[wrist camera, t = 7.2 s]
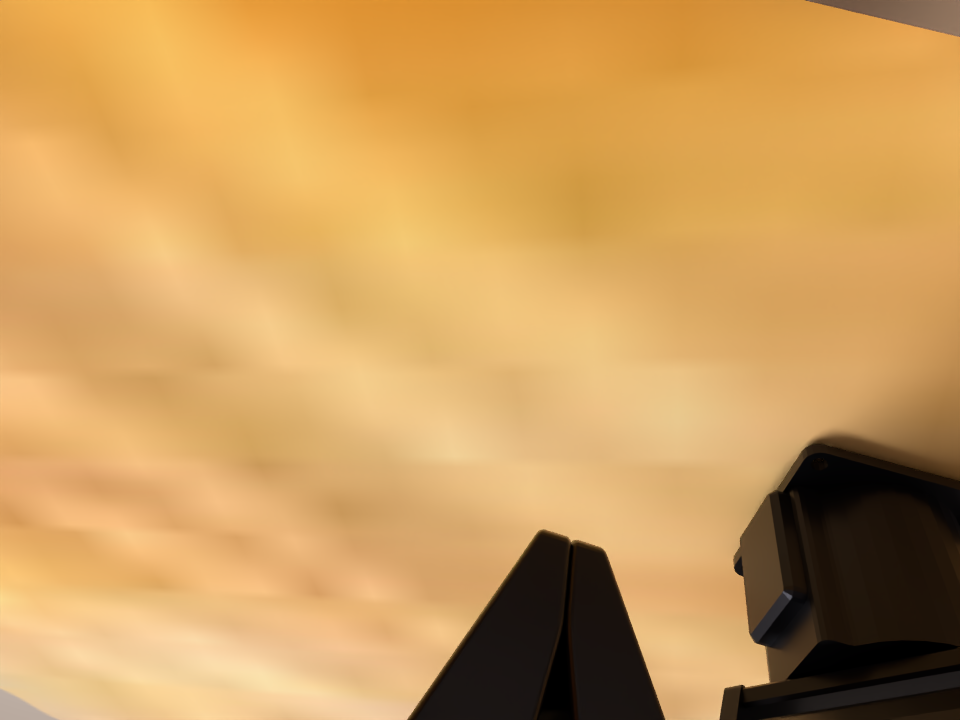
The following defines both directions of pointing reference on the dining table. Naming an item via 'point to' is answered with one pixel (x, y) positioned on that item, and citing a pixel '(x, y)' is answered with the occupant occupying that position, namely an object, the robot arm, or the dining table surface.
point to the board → (907, 12)
